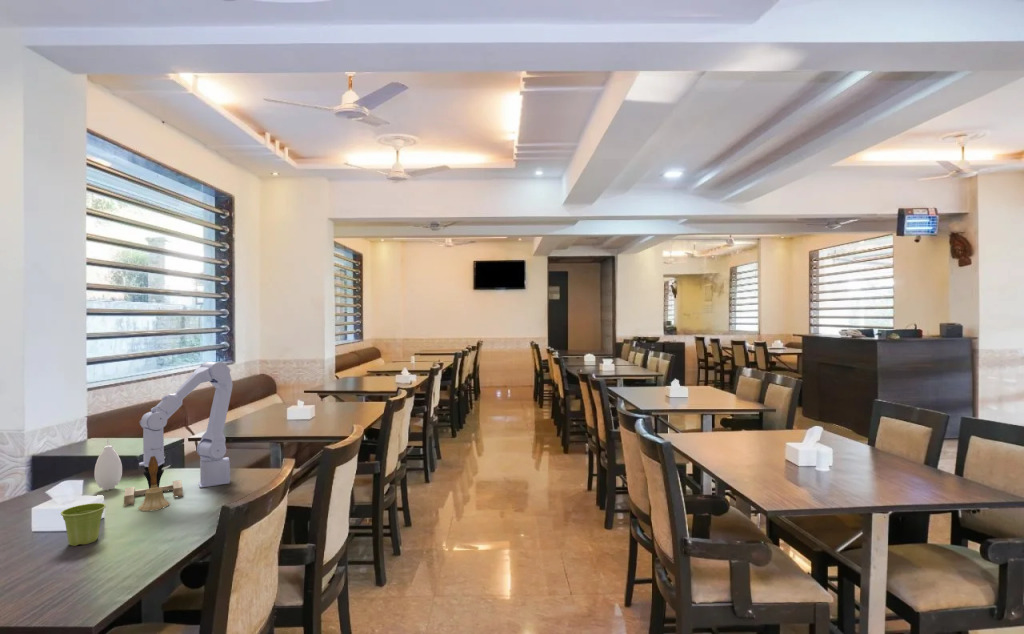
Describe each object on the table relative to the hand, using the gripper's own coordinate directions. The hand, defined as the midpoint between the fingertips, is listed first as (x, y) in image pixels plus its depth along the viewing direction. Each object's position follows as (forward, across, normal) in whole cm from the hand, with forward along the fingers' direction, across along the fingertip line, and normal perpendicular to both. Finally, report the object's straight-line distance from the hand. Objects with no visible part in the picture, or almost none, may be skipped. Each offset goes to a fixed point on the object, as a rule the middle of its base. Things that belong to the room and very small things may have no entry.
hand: (154, 489), depth 182 cm
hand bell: (+3, +12, 0) cm, 12 cm away
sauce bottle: (+3, -22, -14) cm, 26 cm away
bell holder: (+3, -1, 0) cm, 3 cm away
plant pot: (+3, +35, -16) cm, 38 cm away
